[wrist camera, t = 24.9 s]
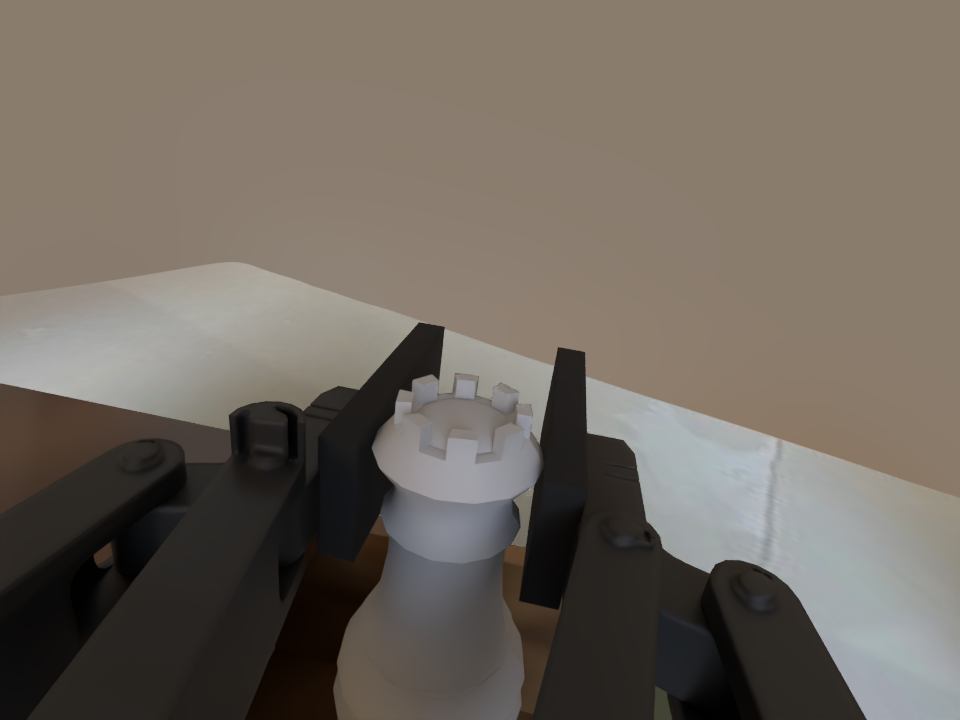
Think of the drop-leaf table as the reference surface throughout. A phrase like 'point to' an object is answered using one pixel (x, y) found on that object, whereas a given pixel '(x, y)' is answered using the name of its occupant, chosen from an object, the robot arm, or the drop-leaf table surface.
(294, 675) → the drawer
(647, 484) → the drop-leaf table surface
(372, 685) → the rook chess piece
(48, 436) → the cabinet
